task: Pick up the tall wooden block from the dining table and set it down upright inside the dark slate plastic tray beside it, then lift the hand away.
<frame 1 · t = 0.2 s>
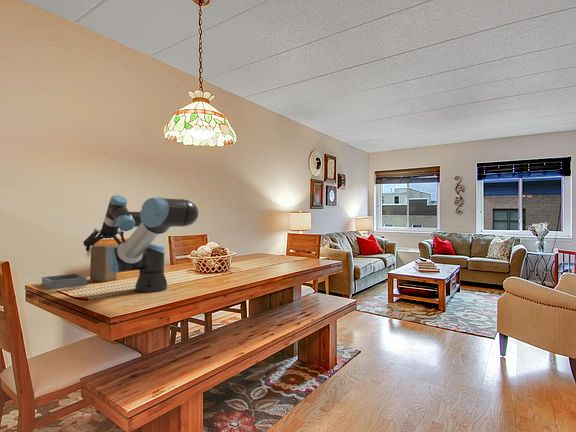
hand: (101, 254, 176), 16 cm above the table, tool tilted 35°, fingers open, 13 cm apart
tray: (64, 284, 173), on the table
wooden block: (103, 280, 187), on the table
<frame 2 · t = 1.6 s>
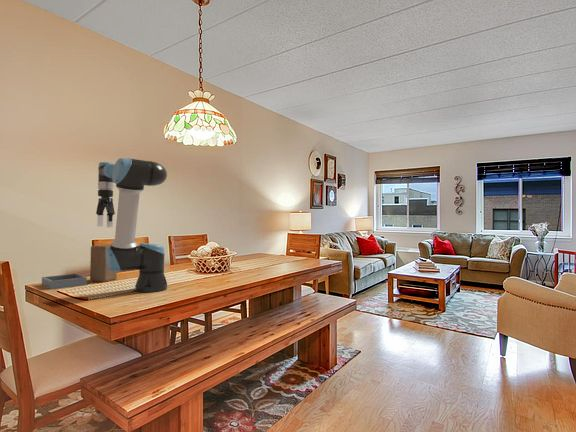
hand: (104, 226, 187), 30 cm above the table, tool pointing down, fingers open, 13 cm apart
nothing on the table moved.
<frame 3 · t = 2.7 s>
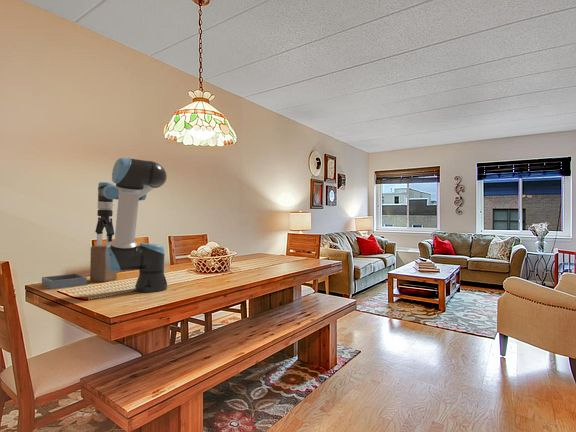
hand: (104, 246, 188), 19 cm above the table, tool pointing down, fingers open, 13 cm apart
wooden block: (103, 280, 187), on the table, touching gripper
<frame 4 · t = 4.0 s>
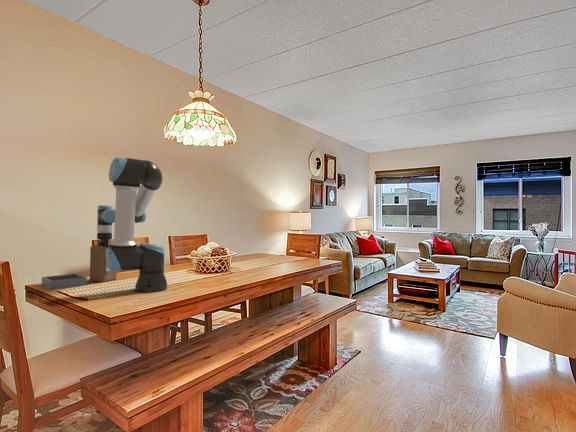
hand: (103, 269, 187), 6 cm above the table, tool pointing down, fingers open, 13 cm apart
wooden block: (103, 280, 187), on the table, touching hand
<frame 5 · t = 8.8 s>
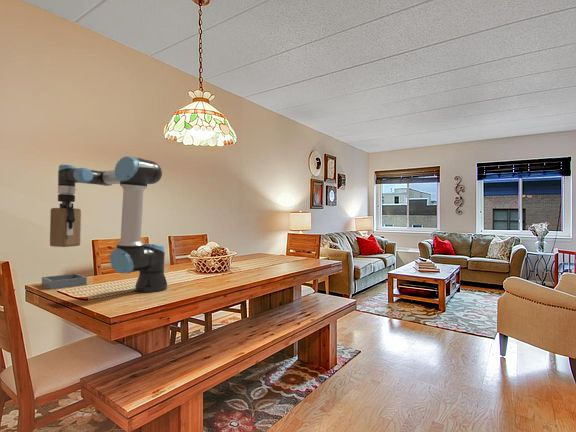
hand: (65, 234, 174), 27 cm above the table, tool pointing down, fingers open, 13 cm apart
wooden block: (65, 246, 173), point 20 cm above the table, touching gripper, hand
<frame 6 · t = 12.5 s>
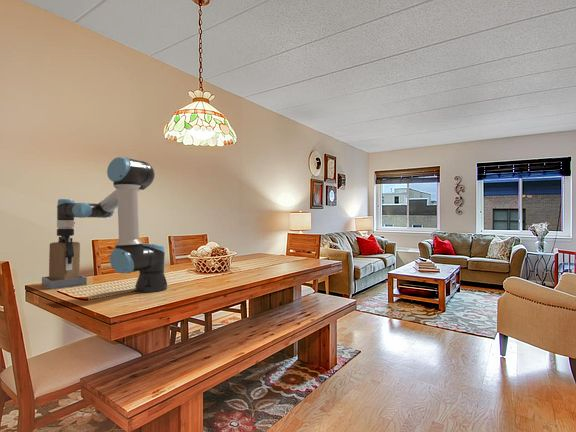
hand: (64, 268, 173), 9 cm above the table, tool pointing down, fingers open, 13 cm apart
wooden block: (64, 280, 173), point 2 cm above the table, touching gripper, hand
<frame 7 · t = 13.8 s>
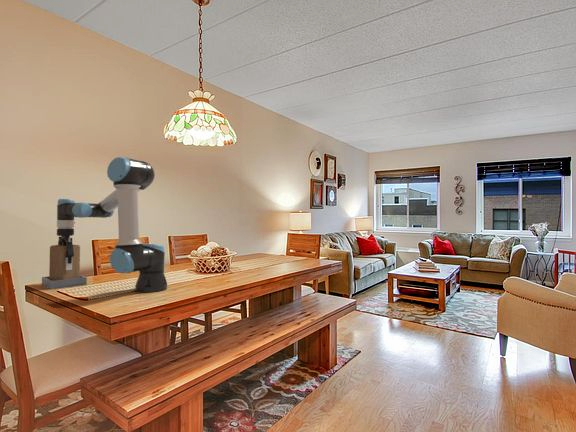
hand: (64, 268, 173), 9 cm above the table, tool pointing down, fingers open, 13 cm apart
wooden block: (64, 283, 173), point 1 cm above the table, touching tray
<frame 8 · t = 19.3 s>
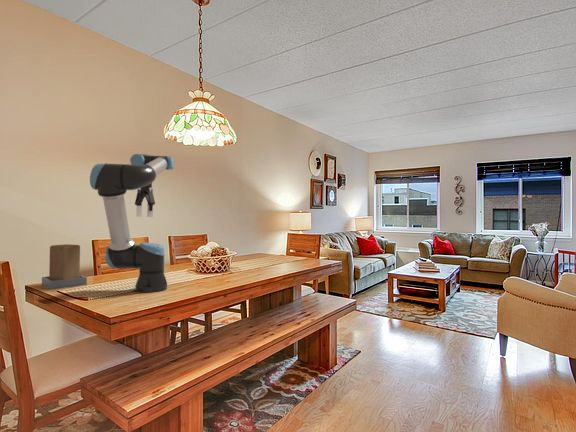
hand: (144, 216, 194), 37 cm above the table, tool pointing down, fingers open, 13 cm apart
nothing on the table moved.
at the end: wooden block inside the target area on the tray (0.4 cm from its centre), point 0.8 cm above the tray's base; wooden block tilted 0°; the gripper is holding nothing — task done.
